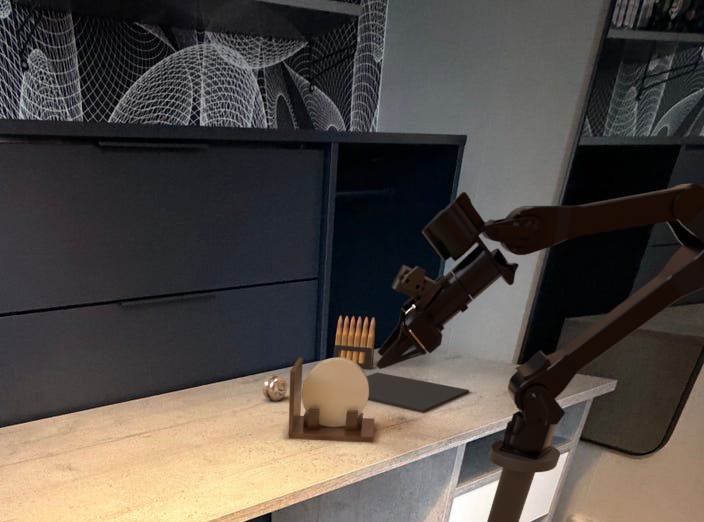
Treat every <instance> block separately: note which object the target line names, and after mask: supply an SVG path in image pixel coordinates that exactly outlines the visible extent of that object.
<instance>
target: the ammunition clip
mask: <svg viewBox="0 0 704 522" xmlns="http://www.w3.org/2000/svg"><path fill="white" fill-rule="evenodd" d="M363 321H364V322H363V326H362V317H361V316H358V319H357V322H356V319H355V316H354V315H353V316H352V317H351V320H350V321H349V316H348V315H346V316H345V319H344V323H343V317H342V315H340V316H339V317H338V321H337V327H336V333H335V344H334V347H333V357H332V358H346V359H349V360H351V361H353V362H355V363H356V364H358V365H359V366H360V367H361V368H362V369H363V370H364V369H365V370H371V369H372V368H373V367H374V356H375V355H374V354H375V337H376V335H375V332H376V320H375V317H374V316H373V317H372V318H371V322H370V326H369V318H368V316H366V317H365V319H364V320H363ZM349 323H350V324H349ZM349 325H350V326H349Z"/></svg>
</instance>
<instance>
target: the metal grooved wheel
mask: <svg viewBox="0 0 704 522" xmlns="http://www.w3.org/2000/svg"><path fill="white" fill-rule="evenodd" d="M287 392H288V383H287V381H286V379H285V378H284V377H282V376H278V375H274V374H273V375H269V376H268V377H266V379H265V380H264V382H263V385H262V393H263V396H264V397H265V399H269V400H272V401H275V402H278V401H281V400H283V399H284V397H285V396H286V394H287Z"/></svg>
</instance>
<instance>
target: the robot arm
mask: <svg viewBox="0 0 704 522" xmlns="http://www.w3.org/2000/svg"><path fill="white" fill-rule="evenodd" d="M662 223H665V224H667V225H668V227H669V228H670V230H671V232H672V234H673V235H674V237H675V238H676V240H677V241H678V242H679V243H680V244H681V247H680V248H679V249H678V250H677V251H675V253H673V255H672V256H671V257H670V259H669V260H668V262H667V263H666V264H665V265H664V266H663V268H662V270H661V271H660V272H659V273H658V274H657V275H656V276H655V277H654V278H652V279H651V280H650V281H649V282H647V283H646V284H645V285H643V286H642V287H641V288H639V289H638V290H636V291H635V292H634V293H633V294H632V295H630V296H629V297H628V298H626V299H625V300H624V301H622V302H621V303H620V304H618V305H616V307H615V308H613V309H611V311H609V312H608V313H607V314H605V315H604V316H603V317H601V318H600V319H599V320H598V321H596V322H595V323H593V324H592V325H591V326H589V327H588V328H587V329H586V330H584V331H583V332H582V333H580V334H578V335H577V337H575V338H574V339H572V340H571V341H570V342H569V343H567V344H566V345H564V346H563V347H562V348H561V349H559V350H557V351H554V352H553V353H549V354H548V355H546V354H545V353H544V352H543V351H542V350H538V351H537V352H535V353H534V354H533V355H531V357H530V358H529V359H528V360H527V361H526V362H524V363H523V364H521V365H518V366H516V367H515V370H516V371H515V372H514V374H513V375H512V376H511V377H510V379H509V381H508V386H507V392H508V394H509V397H510V398H511V400H512V401H513V403H514V405H515V407H516V409H517V410H518V411H516V412H514V413H513V414H512V416H511V420H509V421H507V423H506V426H505V431H504V434H503V438H502V440H503V441H502V444H503V446H501V447H500V448H499V450H500V451H503V452H507V453H511V454H515V455H519V456H522V457H526V458H530V459H534V460H536V459H539V458H540V457H542V456H543V455H545V454H546V453H548V452H549V451H551V450H552V447H551V446H552V445H551V442H552V439H553V436H554V433H555V430H556V427H557V425H558V424H559V423H560V421H561V420H562V418H563V417H564V416H565V414H566V412H565V410H564V409H563V407H562V406H561V405H560V403H558V401H557V400H556V399H557V398H558V397H559V396H560V395H561V394H562V393H563V392H564V391H565V390H566V389H567V387H568V386H569V384H571V382H572V380H573V379H574V378H575V377H576V375H577V374H578V373H579V372H580V371H582V370H583V369H584V368H586V367H587V366H588V365H590V364H591V363H593V362H594V361H595V360H597V359H599V358H600V357H602V356H603V355H604V354H605V353H606V352H608V351H609V350H610V349H612V348H614V347H615V346H617V344H619V343H620V342H622V341H623V340H624V339H626V338H627V337H629V336H630V335H632V334H633V333H635V332H636V331H637V330H639V329H640V328H641V327H642V326H644V325H645V324H646V323H648V322H649V321H651V320H652V319H654V318H655V317H656V316H658V315H660V313H662V312H663V311H665V310H666V309H668V308H669V307H670V306H671V305H673V304H674V303H676V302H677V301H679V300H680V299H682V298H684V297H686V296H688V295H690V294H693V293H696V292H698V291H700V290H703V289H704V184H701V183H682V184H677V185H675V186H673V187H670V188H666V189H661V190H656V191H650V192H644V193H639V194H633V195H628V196H627V195H626V196H623V197H617V198H612V199H611V198H610V199H606V200H601V201H595V202H588V203H583V204H579V205H523V206H522V205H521V206H520V207H516V208H514V209H513V210H511V211H510V212H509V213H508V215H507V216H506V217H505V218H500V219H492V218H490V219H488V220H487V221H484V219H483V218H482V215H480V213H479V212H478V210H477V209H476V208H475V206H474V205H473V203H472V200H471V198H470V196H469V195H468V193H467V192H466V191H462V192H460V194H458V195H457V197H456V198H455V199H454V200H452V201H450V203H449V204H447V206H445V208H444V209H441V210H440V211H439V212H438V213H436V215H435V216H434V217H432V219H431V220H430V221H429V222H428V223H427V224H426V225H425V227H424V228H423V229H422V230H421V233H422V234H423V235H424V237H425V239H426V240H427V241H428V242H429V244H430V245H431V246H432V248H433V249H434V250H435V251H436V253H437V254H438V256H439V257H440V258H441V260H442V261H443V262H446V261H448V260H449V259H450V258H451V259H452V261H453V262H457V261H458V260H459V259H461V258H462V257H463V256H464V255H465V254H466V253H468V251H470V250H471V249H472V247H474V246H475V244H477V246H476V247H475V248H473V250H471V251H470V252H469V253H468V254H467V255H466V256H465V257H464V258H463V259H462V260H461V261H460V262H459V263H457V264H456V265H455V266H454V267H453V268H452V269H451V270H449V272H448V273H447V274H446V275H445V274H443V275H439V276H438V277H437V278H436V279H435V280H433V279H432V278H429V277H428V276H426V270H425V269H422V268H421V267H420V266H418V265H416V266H414V267H413V268H411V267H409V266H407V265H405V264H402V265H401V267H400V269H399V271H398V273H397V274H396V277H395V278H394V280H393V282H392V284H391V289H393V290H394V291H396V292H398V293H403V294H405V295H406V296H408V297H409V298H408V299H407V300H406V301H405V302H403V304H402V306H403V307H400V311H399V319H398V323H397V324H396V326H395V327H394V329H393V330H392V331H391V333H390V334H389V335H388V337H387V338H386V339H385V340H384V342H383V343H382V344H381V346H380V347H379V349H378V350H377V354H379V356H380V359H379V360H378V361H377V362H376V366H377V368H378V369H379V370H382V369H386V368H388V367H390V366H393V365H396V364H398V363H399V364H400V363H402V362H404V361H408V360H410V359H413V358H416V357H420V356H425V355H427V354H428V353H429V354H432V353H433V352H434V351H435V350H436V349H438V348H439V347H440V346H442V341H443V332H442V331H444V330H445V325H446V324H448V323H449V322H450V321H451V320H452V319H454V317H456V316H457V315H458V314H459V313H460V312H461V313H462V314H463V313H464V312H466V311H467V310H468V309H469V307H468V305H470V304H471V303H472V302H473V301H474V300H475V299H477V298H478V297H479V296H480V295H481V294H483V293H484V292H485V291H486V290H487V289H488V288H489V287H491V286H492V285H493V284H494V283H495V282H497V280H498V279H500V278H501V279H502V280H503V281H504V283H505V284H507V285H508V286H512V285H514V283H515V278H516V273H517V270H518V268H519V263H517V262H509V261H508V260H507V258H506V257H505V256H504V254H503V252H501V251H502V250H500V248H495V249H493V250H491V251H490V250H489V248H488V247H487V245H486V244H485V242H484V241H483V240H482V239H481V237H480V235H482V237H484V239H487V240H490V241H492V242H497V243H500V246H501V247H502V248H503V249H504V250H505V251H506V252H509V253H511V254H513V255H517V256H527V255H531V254H533V253H536V252H539V251H542V250H545V249H548V248H551V247H554V246H556V245H558V244H561V243H564V242H565V241H568V240H571V239H572V240H573V239H575V238H577V237H578V238H579V237H582V236H583V237H584V236H589V235H595V234H600V233H608V232H613V231H619V230H620V231H621V230H625V229H626V230H627V229H633V228H637V227H644V226H651V225H656V224H662ZM549 445H551V446H549Z"/></svg>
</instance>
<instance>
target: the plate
mask: <svg viewBox="0 0 704 522" xmlns="http://www.w3.org/2000/svg"><path fill="white" fill-rule="evenodd" d="M367 376H368V375H367V374H366V372H365V371H364V369H363V368H361V367H360V366H359V365H358V364H356V363H355V362H353V361H351V360H349V359H346V358H333V357H330V358H327V359H324V360H322V361H320V362H319V363H316V365H314V366H313V368H312V369H310V371H309V372H308V374H307V375H306V377H305V379H304V381H303V384H302V389H301V403H302V406H303V409H304V411H306V412H307V414H308V409H319V424H321V425H324V426H328V427H339V426H343V425H346V415H347V410H358V416H359V415H360V414H361V413H364V410H365V409H366V406H367V404H368V401H369V400H368V397H369V382H368V379H367Z"/></svg>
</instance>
